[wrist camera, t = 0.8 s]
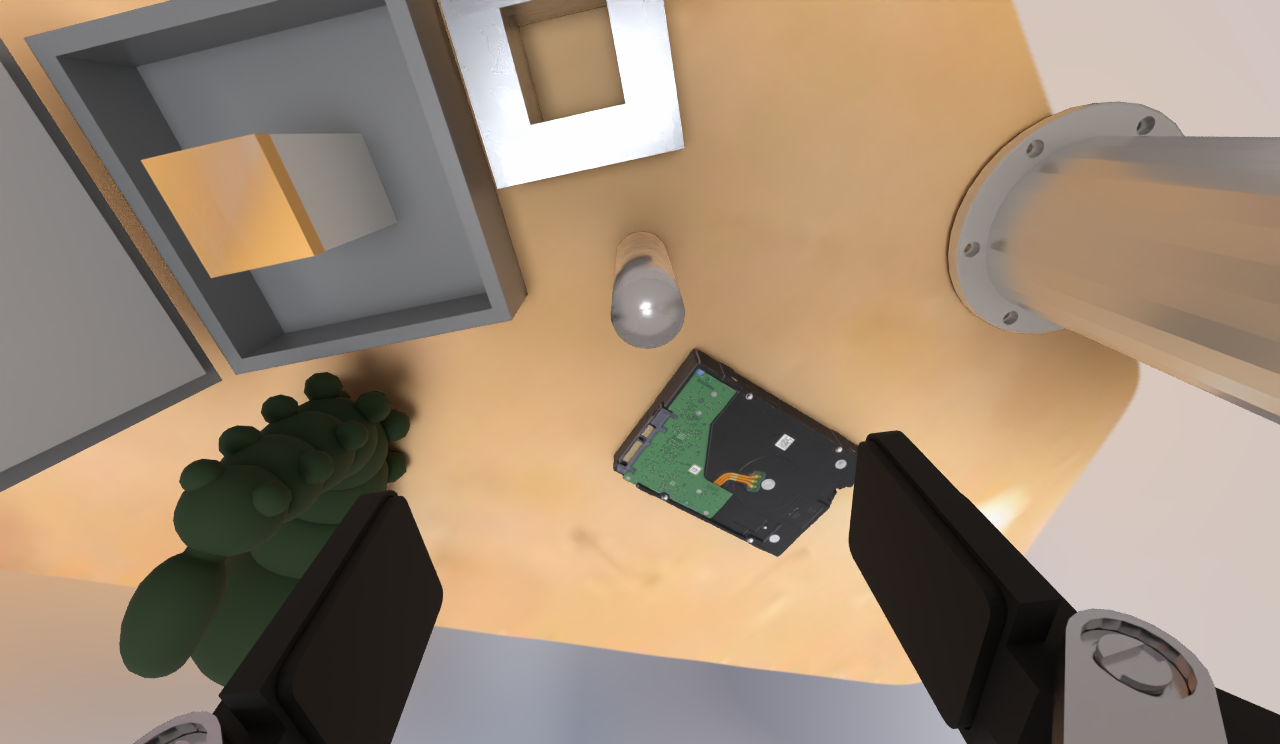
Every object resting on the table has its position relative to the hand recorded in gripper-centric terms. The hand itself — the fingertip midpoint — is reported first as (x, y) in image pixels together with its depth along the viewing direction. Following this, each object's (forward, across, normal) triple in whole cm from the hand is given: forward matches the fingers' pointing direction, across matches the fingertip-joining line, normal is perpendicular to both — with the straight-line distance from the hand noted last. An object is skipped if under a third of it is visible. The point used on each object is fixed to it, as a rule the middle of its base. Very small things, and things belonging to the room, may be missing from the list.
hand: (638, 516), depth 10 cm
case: (+21, +14, -6) cm, 27 cm away
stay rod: (+21, -1, 0) cm, 21 cm away
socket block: (+21, +1, -10) cm, 24 cm away
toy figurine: (+22, +22, +14) cm, 34 cm away
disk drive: (+22, -6, +14) cm, 27 cm away
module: (+21, +14, -6) cm, 26 cm away
